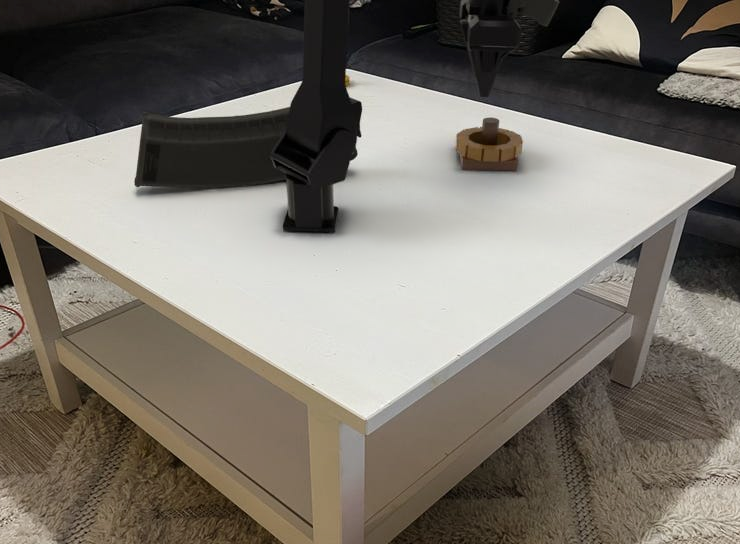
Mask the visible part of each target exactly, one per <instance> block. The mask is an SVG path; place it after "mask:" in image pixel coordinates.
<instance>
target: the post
mask: <svg viewBox="0 0 740 544" xmlns="http://www.w3.org/2000/svg"><path fill="white" fill-rule="evenodd" d="M481 127H482V133H481V142H480V143H477V144H482V145H494V146H497V145H501V144H497V139H498V130H499V128H500V119H498V118H496V117H484V118H483V119H482V123H481ZM459 160H460V168H461V170H463V171H464V170H465V171H469V170H470V171H506V172H507V171H509V172H510V171H511V172H515V171H516V172H517V170H518V165H519V159H518V157H516V158H515V159H514V158H513V159H512V160H507V161H502V162H500V161H499V160H498V162H484V161H483V160H481V161H477V160H473V159H469V158H467V157H464V156H462V155H460V154H459Z"/></svg>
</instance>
